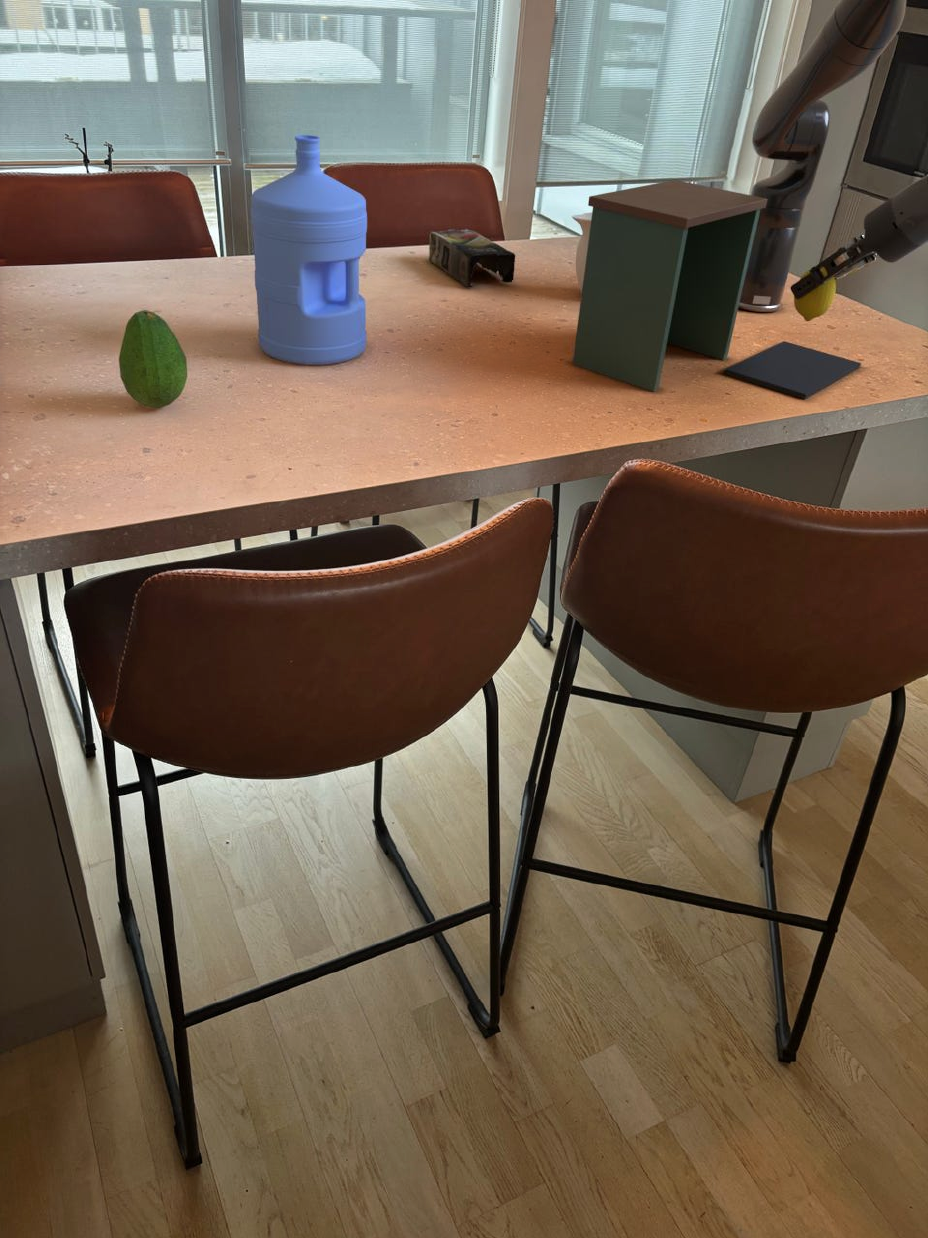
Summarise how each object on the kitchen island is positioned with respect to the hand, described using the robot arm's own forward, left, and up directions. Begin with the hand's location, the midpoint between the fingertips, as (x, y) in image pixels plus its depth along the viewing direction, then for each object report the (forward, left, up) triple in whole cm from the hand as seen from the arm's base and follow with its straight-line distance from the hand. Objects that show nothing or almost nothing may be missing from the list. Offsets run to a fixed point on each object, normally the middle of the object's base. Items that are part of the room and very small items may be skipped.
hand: (803, 289), depth 139 cm
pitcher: (-9, -39, -12) cm, 42 cm away
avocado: (+79, -47, -12) cm, 93 cm away
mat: (0, +2, -12) cm, 12 cm away
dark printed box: (0, -64, -12) cm, 65 cm away
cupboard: (+14, -14, -12) cm, 23 cm away
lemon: (0, +2, -4) cm, 5 cm away
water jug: (+50, -51, -12) cm, 72 cm away
